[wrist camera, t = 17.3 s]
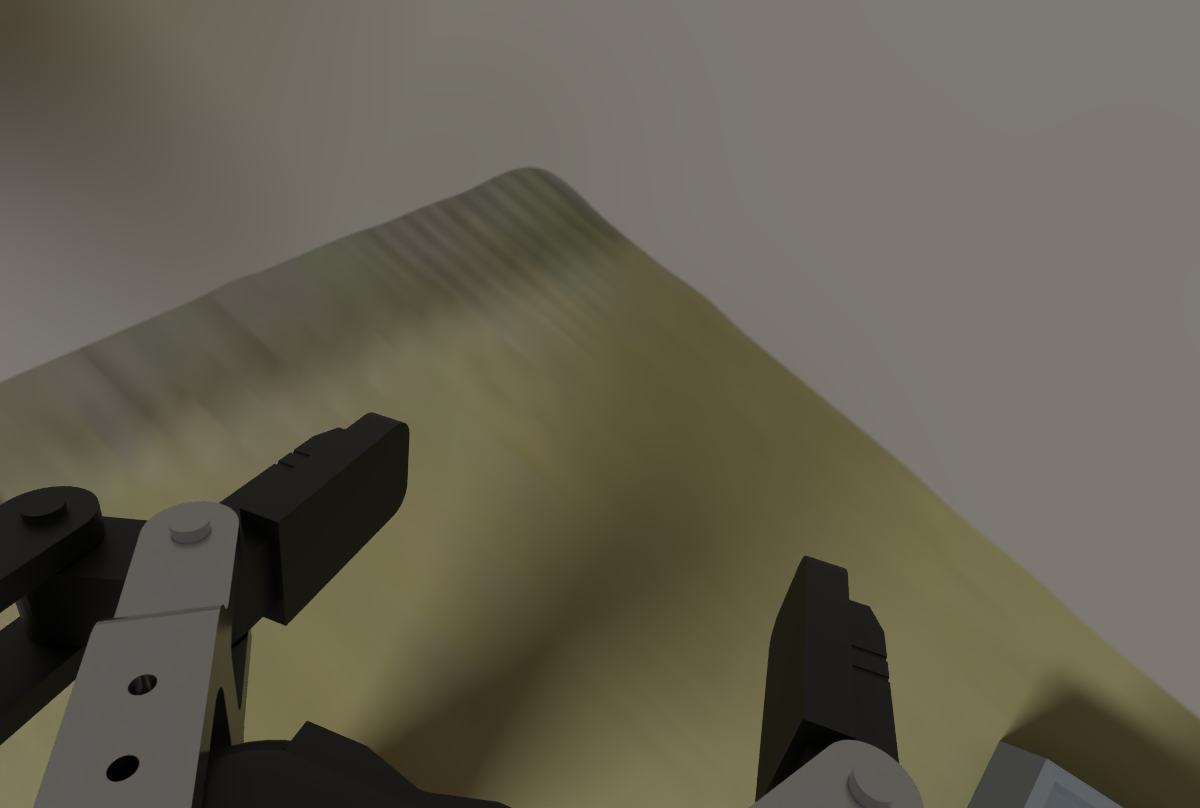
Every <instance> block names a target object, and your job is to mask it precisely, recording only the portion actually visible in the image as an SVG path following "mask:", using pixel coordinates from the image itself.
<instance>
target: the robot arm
mask: <svg viewBox="0 0 1200 808" xmlns="http://www.w3.org/2000/svg"><path fill="white" fill-rule="evenodd" d="M408 455H409V428H408V426H407V424H406V423H403V422H400V421H397V420H394V419H391V418H388V417H385V416H382V415H379V414H376V413H367V414H366V415H364V416H363V417H362V418H360V419H359V420H358V421H356V422H355V423H354V424H352V425H351V426H349V427H348V428H347V429H342V428H336V429H333V430H330V431H327V432H324V433H321V434H319V435H316V436H313V437H312V438H310V439H309V440H307V441H306V442H305V443H303V444H302V445H300V446H299V447H298V448H296V449H295V450H294V452H293V453H289V454H288V455H286V456H285V457H283V458H282V459H281V460H279V461H278V464H277V465H276V464H273V465H272V466H271V467H269V468H268V469H266V470H265V471H264V472H262V473H261V474H259V475H258V476H257V477H255V478H254V479H252V480H251V481H249V482H248V483H247V484H245V485H244V486H242V487H241V488H240V489H238V490H237V491H235V492H234V493H233V494H231V495H230V496H228V497H227V498H225V499H224V500H223V501H221V502H220V503H214V502H205V501H203V502H189V503H184V504H179V505H176V506H173V507H170V508H168V509H165V510H163V511H161V512H159V513H158V514H156V515H155V516H153V517H152V518H151V519H149V520H148V521H146V520H135V519H125V518H114V517H104V516H102V514H101V509H100V505H99V501H98V499H97V497H96V496H95V495H94V494H93V493H92V492H90V491H88V490H86V489H82V488H78V487H71V486H58V487H48V488H42V489H38V490H33V491H30V492H27V493H24V494H21V495H19V496H16V497H14V498H12V499H10V500H8V501H6V502H5V503H3V504H1V505H0V613H1V612H2V611H3V610H5V609H6V608H8V607H9V606H11V605H12V604H13V603H15V602H16V605H17V608H18V611H19V614H20V617H18V618H17V619H16V620H14V621H13V622H12V623H10V624H9V625H7V626H6V627H5V628H3V629H2V630H1V631H0V745H1V744H2V743H3V742H5V741H6V740H7V739H8V738H9V737H10V736H11V735H13V734H14V733H15V732H16V731H17V730H18V729H19V728H21V727H22V726H23V725H24V724H25V723H26V722H27V721H29V720H30V719H31V718H32V717H33V716H34V715H35V714H37V713H38V712H39V711H40V710H41V709H42V708H43V707H45V706H46V705H47V704H48V703H49V702H50V701H51V700H53V699H54V698H55V697H56V696H57V695H58V694H59V693H61V692H62V691H63V690H64V689H65V688H66V687H67V686H69V685H70V684H71V683H72V682H73V681H74V680H75V679H76V680H75V683H74V686H73V689H72V692H71V695H70V698H69V701H68V704H67V707H66V710H65V713H64V716H63V719H62V722H61V725H60V728H59V731H58V734H57V737H56V740H55V743H54V746H53V749H52V752H51V755H50V758H49V761H48V764H47V767H46V770H45V773H44V776H43V779H42V782H41V785H40V788H39V791H38V794H37V797H36V800H35V803H34V806H33V808H511V807H509V806H506V805H504V804H502V803H499V802H494V801H487V800H480V799H472V798H465V797H457V796H450V795H443V794H435V793H428V792H424V791H422V790H419V789H418V788H417V787H415V786H414V785H413V784H412V783H410V782H409V781H408V780H407V779H406V778H404V777H403V776H402V775H401V774H400V773H398V772H397V771H396V770H395V769H394V768H392V767H391V766H390V765H389V764H388V763H386V762H385V761H384V760H383V759H382V758H380V757H379V756H378V755H377V754H376V753H375V752H373V751H372V750H371V749H370V748H369V747H367V746H365V745H363V744H361V743H358V742H356V741H354V740H351V739H349V738H347V737H344V736H342V735H340V734H337V733H335V732H332V731H330V730H328V729H325V728H323V727H321V726H318V725H316V724H314V723H311V722H309V721H306V723H305V724H304V725H303V726H302V728H301V729H300V730H299V731H298V733H297V734H296V735H295V736H294V738H293V739H292V740H291V741H289V740H262V741H252V742H246V743H244V721H245V709H246V698H247V687H248V675H249V664H250V653H251V641H252V634H251V628H252V627H253V626H254V625H255V624H256V623H257V622H258V621H259V620H260V619H261V618H262V617H265V618H268V619H270V620H273V621H275V622H278V623H280V624H283V625H285V626H286V625H287V624H288V623H289V622H290V621H291V620H292V619H293V618H294V617H295V616H296V615H297V614H298V613H299V612H300V611H301V610H302V609H303V608H304V607H305V606H306V605H307V604H308V603H309V602H310V601H311V600H312V599H313V598H314V597H315V596H316V595H317V594H318V593H319V591H320V590H321V589H322V588H323V587H324V586H325V585H326V584H327V583H328V582H329V581H330V580H331V579H332V578H333V577H334V576H335V575H336V574H337V573H338V572H339V571H340V570H341V569H342V568H343V567H344V566H345V565H346V564H347V563H348V562H349V561H350V560H351V559H352V558H353V557H354V556H355V555H356V554H357V553H358V551H359V550H360V549H361V548H362V547H363V546H364V545H365V544H366V543H367V542H368V541H369V540H370V539H371V538H372V537H373V536H374V535H375V534H376V533H377V532H378V531H379V530H380V529H381V528H382V527H383V526H384V525H385V524H386V523H387V522H388V521H389V520H390V519H391V518H392V517H393V516H394V514H395V513H396V512H397V511H398V509H399V507H400V506H401V504H402V502H403V499H404V496H405V493H406V489H407V478H408ZM886 658H887V653H886V644H885V636H884V631H883V629H882V628H881V626H880V624H879V622H878V621H877V619H876V617H875V615H874V613H873V612H872V610H871V608H870V607H869V606H866V605H863V604H860V603H857V602H854V601H851V600H849V588H848V572H847V570H846V569H845V568H842V567H839V566H836V565H833V564H830V563H827V562H824V561H821V560H818V559H815V558H812V557H809V556H804V557H803V558H802V560H801V562H800V564H799V566H798V569H797V571H796V573H795V576H794V578H793V580H792V583H791V585H790V587H789V590H788V592H787V594H786V597H785V599H784V601H783V604H782V606H781V608H780V611H779V613H778V616H777V618H776V621H775V624H774V628H773V632H772V636H771V641H770V646H769V656H768V667H767V678H766V689H765V700H764V711H763V722H762V733H761V744H760V754H759V765H758V776H757V787H756V798H755V803H754V804H753V805H752V806H750V807H749V808H924V806H923V802H922V798H921V796H920V793H919V791H918V789H917V787H916V785H915V783H914V782H913V780H912V779H911V777H910V776H909V775H908V773H907V772H906V771H905V770H904V769H903V767H902V766H901V765H900V764H899V759H898V751H897V742H896V733H895V724H894V715H893V706H892V698H891V689H890V683H889V682H888V679H889V671H888V662H887V661H886Z"/></svg>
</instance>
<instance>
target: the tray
mask: <svg viewBox="0 0 1200 808" xmlns="http://www.w3.org/2000/svg"><path fill="white" fill-rule="evenodd" d="M968 808H1123V807H1121V806H1120V805H1118V804H1117V803H1115V802H1114V801H1112V800H1110V799H1109V798H1107V797H1106V796H1104V795H1103V794H1101V793H1100V792H1098V791H1096V790H1095V789H1093V788H1092V787H1090V786H1089V785H1087V784H1086V783H1084V782H1083V781H1081V780H1079V779H1078V778H1076V777H1075V776H1073V775H1072V774H1070V773H1069V772H1067V771H1066V770H1064V769H1062V768H1061V767H1059V766H1058V765H1056V764H1055V763H1053V762H1052V761H1050V760H1048V759H1047V758H1044V757H1042V756H1039V755H1036V754H1034V753H1031V752H1028V751H1026V750H1023V749H1020V748H1018V747H1015V746H1013V745H1010V744H1007V743H1005V742H1002V741H1000V742H999V744H998V746H997V748H996V750H995V752H994V754H993V756H992V758H991V760H990V762H989V765H988V767H987V769H986V771H985V773H984V775H983V777H982V779H981V781H980V783H979V785H978V787H977V789H976V791H975V793H974V795H973V798H972V800H971V802H970V804H969V806H968Z"/></svg>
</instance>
